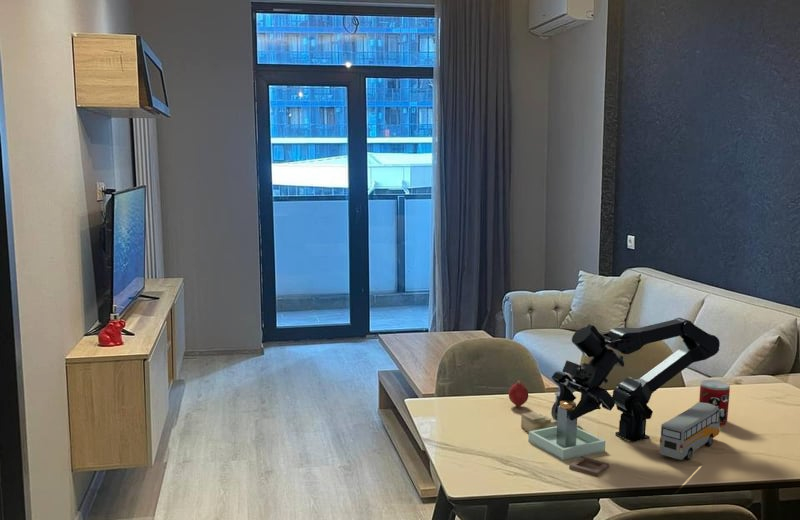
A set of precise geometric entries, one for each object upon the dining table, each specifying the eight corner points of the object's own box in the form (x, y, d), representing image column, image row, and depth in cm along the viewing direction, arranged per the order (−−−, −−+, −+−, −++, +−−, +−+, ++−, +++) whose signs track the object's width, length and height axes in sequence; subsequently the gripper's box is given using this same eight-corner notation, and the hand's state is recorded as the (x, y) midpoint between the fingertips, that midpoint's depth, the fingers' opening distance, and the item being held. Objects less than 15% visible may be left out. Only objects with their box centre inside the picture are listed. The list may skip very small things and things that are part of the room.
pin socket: (581, 460, 177) (581, 456, 177) (609, 468, 173) (609, 463, 173) (569, 470, 172) (569, 465, 172) (597, 478, 168) (597, 473, 167)
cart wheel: (567, 418, 207) (568, 389, 206) (579, 424, 202) (580, 394, 201) (547, 422, 204) (549, 393, 203) (559, 428, 199) (560, 398, 198)
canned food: (698, 423, 204) (700, 385, 203) (697, 414, 212) (700, 378, 210) (727, 427, 201) (730, 389, 200) (726, 418, 209) (729, 381, 207)
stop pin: (567, 440, 188) (568, 399, 187) (577, 445, 185) (579, 404, 183) (554, 442, 186) (556, 401, 185) (565, 448, 183) (567, 406, 182)
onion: (508, 403, 220) (508, 377, 219) (527, 404, 219) (528, 378, 218) (508, 409, 214) (509, 383, 213) (528, 410, 213) (529, 384, 212)
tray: (568, 434, 195) (569, 423, 194) (604, 452, 183) (605, 440, 182) (528, 442, 189) (528, 431, 188) (562, 461, 177) (563, 450, 176)
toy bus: (722, 440, 192) (724, 403, 191) (682, 467, 174) (685, 428, 173) (696, 433, 197) (699, 397, 196) (655, 459, 179) (657, 420, 177)
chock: (545, 423, 203) (546, 409, 203) (557, 429, 199) (557, 414, 198) (520, 428, 199) (521, 413, 199) (532, 434, 195) (532, 419, 194)
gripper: (558, 341, 192) (523, 387, 189) (608, 358, 176) (571, 408, 172) (579, 366, 197) (546, 411, 193) (630, 385, 181) (594, 435, 177)
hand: (563, 416), depth 184 cm, fingers open, 5 cm apart
